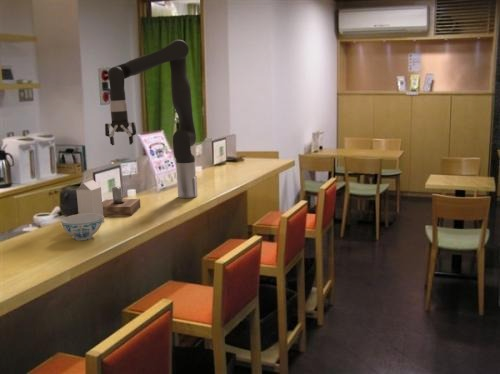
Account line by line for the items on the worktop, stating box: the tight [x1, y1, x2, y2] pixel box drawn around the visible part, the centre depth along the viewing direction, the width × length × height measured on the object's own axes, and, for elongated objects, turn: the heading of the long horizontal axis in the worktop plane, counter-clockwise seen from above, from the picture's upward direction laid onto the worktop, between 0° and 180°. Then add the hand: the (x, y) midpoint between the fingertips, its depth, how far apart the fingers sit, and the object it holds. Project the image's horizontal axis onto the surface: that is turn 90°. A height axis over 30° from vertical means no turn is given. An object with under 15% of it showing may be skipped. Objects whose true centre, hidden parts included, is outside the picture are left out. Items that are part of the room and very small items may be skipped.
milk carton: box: [75, 176, 105, 224], centre depth 240 cm, size 7×7×19 cm
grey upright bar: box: [111, 186, 123, 204], centre depth 261 cm, size 4×4×10 cm
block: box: [102, 198, 142, 217], centre depth 261 cm, size 16×16×4 cm
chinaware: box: [60, 213, 103, 241], centre depth 220 cm, size 15×15×8 cm
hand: (121, 144), depth 276 cm, fingers open, 8 cm apart
